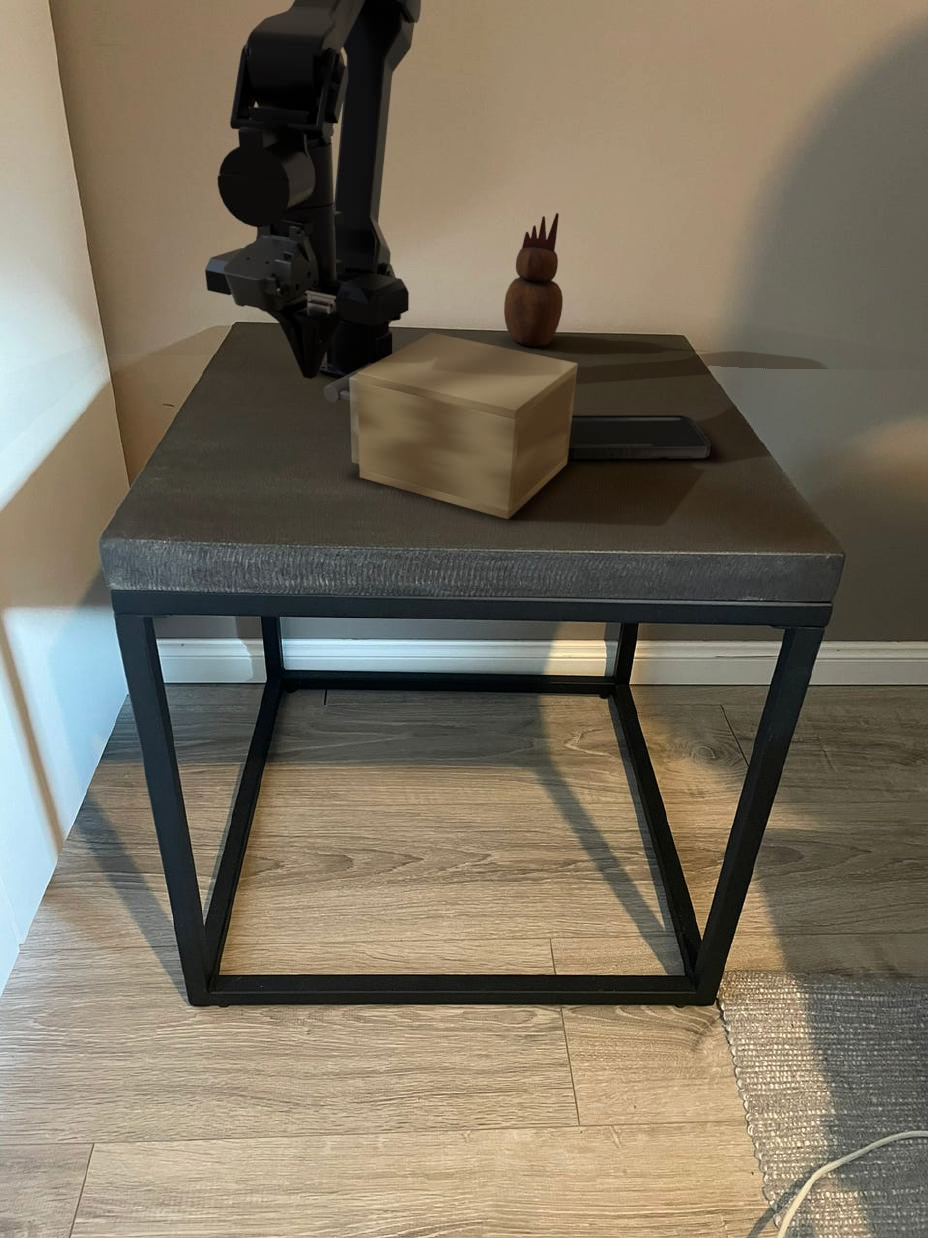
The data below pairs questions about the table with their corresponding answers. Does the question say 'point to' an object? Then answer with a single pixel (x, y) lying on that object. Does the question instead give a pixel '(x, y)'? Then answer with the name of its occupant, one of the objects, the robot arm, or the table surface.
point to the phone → (636, 437)
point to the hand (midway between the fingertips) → (310, 377)
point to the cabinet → (465, 422)
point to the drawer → (349, 391)
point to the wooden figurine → (535, 290)
